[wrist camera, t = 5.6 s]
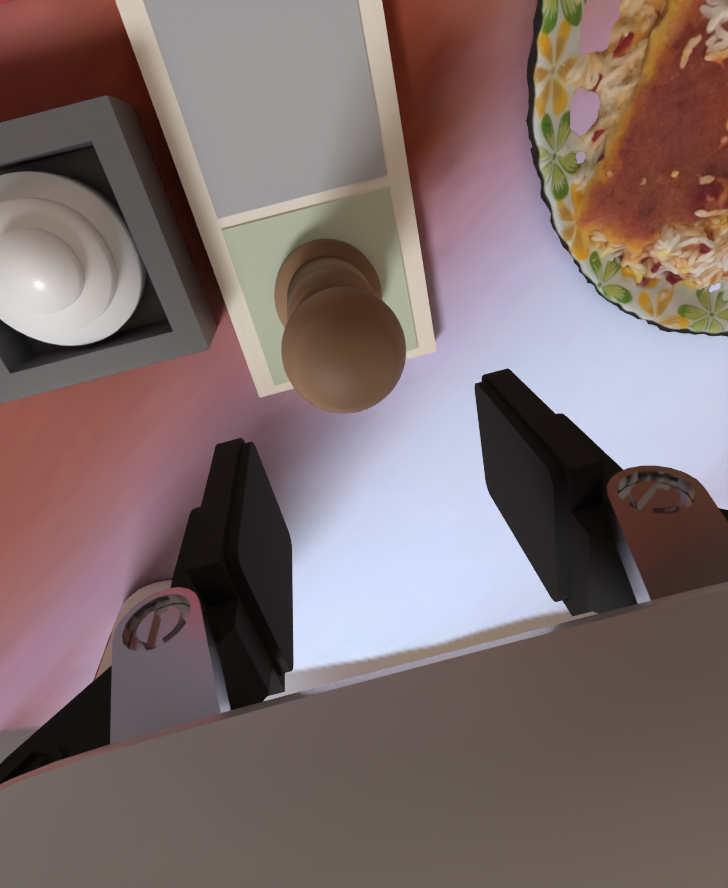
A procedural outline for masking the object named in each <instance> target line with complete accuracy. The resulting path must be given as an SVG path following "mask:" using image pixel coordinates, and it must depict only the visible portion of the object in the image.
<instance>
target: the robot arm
mask: <svg viewBox="0 0 728 888" xmlns="http://www.w3.org/2000/svg"><path fill="white" fill-rule="evenodd" d="M475 396H476V404H477V413H478V421H479V430H480V438H481V446H482V455H483V463H484V471H485V480H486V485H487V488H488V491H489V494H490V496H491V497H492V499H493V501H494V502H495V504H496V506H497V507H498V509H499V511H500V512H501V514H502V516H503V518H504V519H505V521H506V523H507V524H508V526H509V528H510V529H511V531H512V533H513V534H514V536H515V538H516V539H517V541H518V543H519V544H520V546H521V548H522V549H523V551H524V553H525V554H526V556H527V558H528V560H529V561H530V563H531V565H532V566H533V568H534V570H535V571H536V573H537V575H538V576H539V578H540V580H541V581H542V583H543V585H544V586H545V588H546V590H547V591H548V593H549V595H550V597H551V598H552V599H553V600H554V601H555V602H558V601H561V600H563V602H564V604H565V605H566V607H567V609H568V610H569V612H570V613H571V615H572V616H575V615H579V614H583V613H587V612H591V611H593V612H596V613H599V614H596V615H593V616H588V617H584V618H581V619H576V620H572V621H569V622H565V623H561V624H557V625H553V626H549V627H545V628H541V629H537V630H533V631H530V632H526V633H522V634H518V635H514V636H510V637H507V638H503V639H499V640H495V641H491V642H487V643H484V644H480V645H476V646H472V647H468V648H464V649H461V650H457V651H453V652H449V653H445V654H442V655H437V656H434V657H430V658H426V659H422V660H419V661H415V662H411V663H407V664H403V665H399V666H396V667H392V668H388V669H384V670H381V671H376V672H373V673H369V674H365V675H361V676H357V677H354V678H350V679H346V680H343V681H339V682H335V683H331V684H328V685H324V686H320V687H316V688H312V689H309V690H305V691H301V692H298V693H294V694H290V695H287V696H283V697H279V698H275V699H271V700H268V701H264V699H265V698H266V697H267V696H270V695H274V694H277V693H281V692H285V673H286V672H290V671H292V670H293V596H292V544H291V538H290V535H289V532H288V529H287V526H286V524H285V521H284V519H283V516H282V513H281V511H280V508H279V506H278V503H277V501H276V498H275V495H274V493H273V490H272V488H271V485H270V483H269V480H268V478H267V475H266V472H265V470H264V467H263V465H262V462H261V460H260V457H259V454H258V452H257V449H256V447H255V445H254V443H253V442H249V443H245V442H244V440H243V439H242V438H239V439H235V440H231V441H227V442H224V443H220V444H217V445H216V447H215V451H214V455H213V460H212V464H211V468H210V472H209V476H208V480H207V484H206V488H205V492H204V496H203V501H202V505H201V507H198V508H195V509H193V510H192V511H191V513H190V516H189V519H188V523H187V527H186V531H185V534H184V538H183V542H182V545H181V549H180V553H179V556H178V560H177V564H176V568H175V571H174V575H173V579H172V582H171V586H170V588H168V589H164V590H162V591H159V592H156V593H154V594H152V595H150V596H148V597H146V598H145V599H143V600H141V601H140V602H139V603H138V604H136V605H135V606H134V607H133V608H131V609H130V610H129V611H128V612H127V614H126V615H125V616H124V617H123V618H122V619H121V621H120V623H119V624H118V626H117V628H116V630H115V632H114V637H113V641H112V665H111V666H110V667H109V668H108V669H107V670H105V671H104V672H103V673H102V674H101V675H100V676H99V677H98V678H96V679H95V680H94V681H93V682H92V683H91V684H90V685H88V686H87V687H86V688H85V689H84V690H83V691H82V692H81V693H79V694H78V695H77V696H76V697H75V698H74V699H73V700H71V701H70V702H69V703H68V704H67V705H66V706H65V707H64V708H62V709H61V710H60V711H59V712H58V713H57V714H56V715H54V716H53V717H52V718H51V719H50V720H49V721H48V722H47V723H45V724H44V725H43V726H42V727H41V728H40V729H39V730H37V731H36V732H35V733H34V734H33V735H32V736H31V737H30V738H28V739H27V740H26V741H25V742H24V743H23V744H22V745H21V746H19V747H18V748H17V749H16V750H15V751H14V752H13V753H11V754H10V755H9V756H8V757H7V758H6V759H5V760H4V761H3V762H2V763H1V764H0V888H728V510H725V509H720V508H718V507H717V505H716V504H715V502H714V501H713V499H712V498H711V496H710V495H709V493H708V492H707V490H706V489H705V488H704V486H703V485H702V484H701V483H700V482H699V481H698V480H697V479H695V478H693V477H692V476H690V475H688V474H686V473H684V472H681V471H678V470H675V469H672V468H667V467H661V466H638V467H632V468H628V469H625V470H623V469H622V468H621V467H620V466H619V465H618V464H617V463H615V462H614V461H613V460H612V459H611V458H610V457H609V456H608V455H607V454H606V453H605V452H604V451H603V450H602V449H601V448H600V447H598V446H597V445H596V444H595V443H594V442H593V441H592V440H591V439H590V438H589V437H588V436H587V435H586V434H585V433H584V432H583V431H581V430H580V429H579V428H578V427H577V426H576V425H575V424H574V423H573V422H572V421H571V420H570V419H569V418H568V417H567V416H565V415H564V414H555V413H554V412H553V411H552V410H551V409H550V408H549V407H548V406H547V405H546V404H545V403H544V402H543V401H542V400H541V399H540V398H539V397H537V396H536V395H535V394H534V393H533V392H532V391H531V390H530V389H529V388H528V387H527V386H526V385H525V384H524V383H523V382H522V381H521V380H520V379H519V378H518V377H517V376H516V375H515V374H514V373H513V372H512V371H511V370H509V369H504V370H500V371H496V372H493V373H489V374H485V375H483V376H482V382H479V383H476V384H475ZM263 701H264V702H263Z"/></svg>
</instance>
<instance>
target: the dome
mask: <svg viewBox="0 0 728 888" xmlns="http://www.w3.org/2000/svg"><path fill="white" fill-rule="evenodd" d="M145 284H146V267H145V265H144V262H143V260H142V258H141V255H140V253H139V251H138V248H137V246H136V244H135V241H134V239H133V237H132V234H131V232H130V230H129V227H128V225H127V223H126V220H125V218H124V216H123V214H122V213H121V211H120V210H119V209H118V208H117V207H116V206H115V205H114V204H113V203H112V202H111V201H110V200H109V199H107V198H106V197H105V196H104V195H102V194H101V193H100V192H98V191H97V190H95V189H94V188H92V187H91V186H89V185H87V184H85V183H83V182H81V181H79V180H77V179H75V178H72V177H69V176H66V175H63V174H59V173H54V172H47V171H26V172H14V173H8V174H3V175H0V319H1V320H2V321H3V322H5V323H6V324H7V325H9V326H11V327H12V328H14V329H15V330H17V331H19V332H21V333H23V334H25V335H27V336H29V337H32V338H34V339H37V340H40V341H43V342H47V343H51V344H57V345H67V346H75V345H85V344H90V343H94V342H97V341H100V340H102V339H104V338H106V337H108V336H110V335H112V334H113V333H114V332H116V331H117V330H118V329H119V328H120V327H121V326H122V325H124V324H125V322H126V321H127V320H128V319H129V318H130V317H131V316H132V315H133V313H134V312H135V311H136V309H137V308H138V306H139V304H140V302H141V300H142V297H143V294H144V290H145Z"/></svg>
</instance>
